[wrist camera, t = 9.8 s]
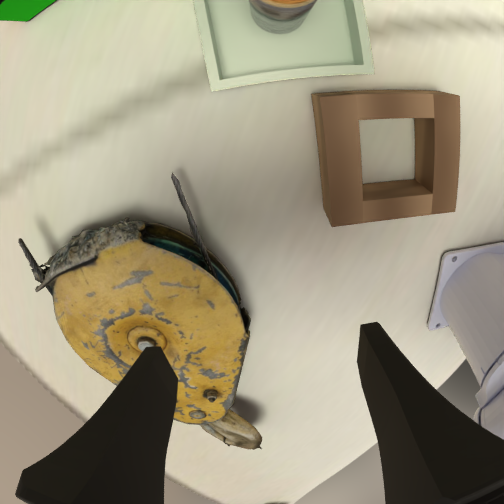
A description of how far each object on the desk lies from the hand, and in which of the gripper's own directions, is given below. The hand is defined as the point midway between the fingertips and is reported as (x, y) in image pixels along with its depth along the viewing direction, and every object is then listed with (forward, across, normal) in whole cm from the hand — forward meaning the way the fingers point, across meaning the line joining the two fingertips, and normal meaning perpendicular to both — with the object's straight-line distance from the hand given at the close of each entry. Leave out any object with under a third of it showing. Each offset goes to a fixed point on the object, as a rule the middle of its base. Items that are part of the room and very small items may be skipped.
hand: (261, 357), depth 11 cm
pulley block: (+11, +8, +11) cm, 18 cm away
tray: (+10, -3, -12) cm, 17 cm away
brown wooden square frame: (+10, -8, -4) cm, 14 cm away
